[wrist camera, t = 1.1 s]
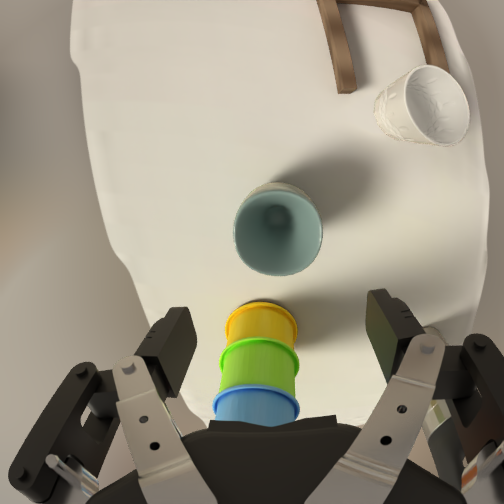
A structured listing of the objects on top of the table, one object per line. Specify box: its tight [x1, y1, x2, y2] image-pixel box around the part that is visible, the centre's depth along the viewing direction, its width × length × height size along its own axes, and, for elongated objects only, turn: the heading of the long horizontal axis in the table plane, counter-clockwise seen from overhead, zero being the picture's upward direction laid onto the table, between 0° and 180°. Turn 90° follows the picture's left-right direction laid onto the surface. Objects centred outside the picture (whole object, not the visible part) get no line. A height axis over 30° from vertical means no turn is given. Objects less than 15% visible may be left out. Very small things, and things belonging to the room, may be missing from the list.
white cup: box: [374, 65, 470, 146], centre depth 22 cm, size 8×8×10 cm
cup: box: [233, 182, 323, 276], centre depth 28 cm, size 8×8×10 cm
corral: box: [316, 0, 450, 94], centre depth 22 cm, size 15×15×3 cm
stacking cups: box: [212, 302, 300, 427], centre depth 22 cm, size 10×10×35 cm
